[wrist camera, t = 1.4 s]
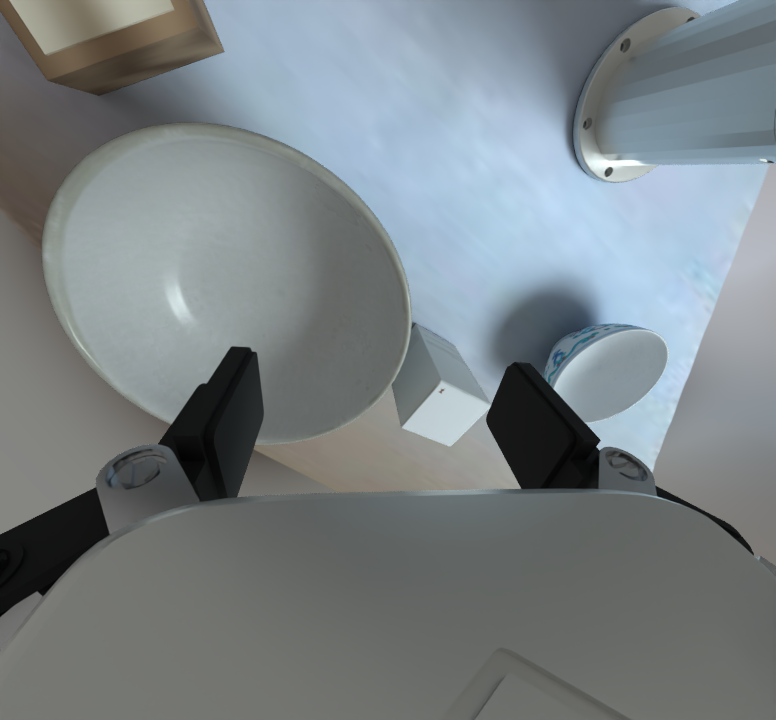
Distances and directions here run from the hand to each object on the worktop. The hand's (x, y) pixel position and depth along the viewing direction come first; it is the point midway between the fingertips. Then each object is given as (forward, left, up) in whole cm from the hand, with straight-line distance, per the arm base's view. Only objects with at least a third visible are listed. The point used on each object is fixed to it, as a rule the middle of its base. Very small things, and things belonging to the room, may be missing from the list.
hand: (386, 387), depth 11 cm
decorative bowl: (+10, +2, -26) cm, 28 cm away
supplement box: (-4, +17, -26) cm, 31 cm away
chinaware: (-26, +24, -26) cm, 44 cm away
